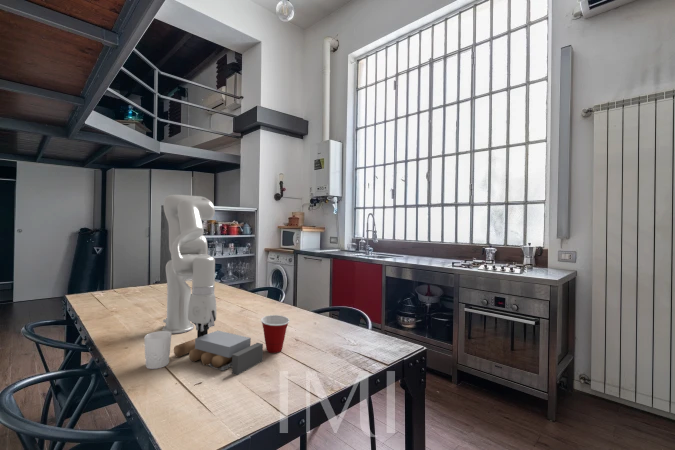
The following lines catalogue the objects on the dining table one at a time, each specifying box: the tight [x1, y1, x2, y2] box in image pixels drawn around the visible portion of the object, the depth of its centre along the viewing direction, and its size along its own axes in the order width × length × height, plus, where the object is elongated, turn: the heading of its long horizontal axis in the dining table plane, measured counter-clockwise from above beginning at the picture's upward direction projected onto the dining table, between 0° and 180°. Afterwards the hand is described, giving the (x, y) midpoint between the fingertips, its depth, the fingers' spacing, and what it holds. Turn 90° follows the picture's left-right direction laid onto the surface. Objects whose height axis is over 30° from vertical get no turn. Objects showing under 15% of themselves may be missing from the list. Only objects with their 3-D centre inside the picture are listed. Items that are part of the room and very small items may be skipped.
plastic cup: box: [260, 314, 291, 354], centre depth 122 cm, size 11×11×12 cm
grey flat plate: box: [208, 361, 232, 371], centre depth 111 cm, size 6×12×1 cm, turn 153°
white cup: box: [144, 330, 172, 370], centre depth 107 cm, size 8×8×10 cm
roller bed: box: [173, 338, 217, 366], centre depth 116 cm, size 18×12×4 cm, turn 63°
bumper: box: [231, 342, 264, 376], centre depth 107 cm, size 2×12×6 cm, turn 153°
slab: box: [194, 330, 252, 358], centre depth 112 cm, size 16×10×4 cm, turn 63°
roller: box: [212, 355, 232, 369], centre depth 111 cm, size 4×12×4 cm
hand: (202, 340), depth 117 cm, fingers closed
